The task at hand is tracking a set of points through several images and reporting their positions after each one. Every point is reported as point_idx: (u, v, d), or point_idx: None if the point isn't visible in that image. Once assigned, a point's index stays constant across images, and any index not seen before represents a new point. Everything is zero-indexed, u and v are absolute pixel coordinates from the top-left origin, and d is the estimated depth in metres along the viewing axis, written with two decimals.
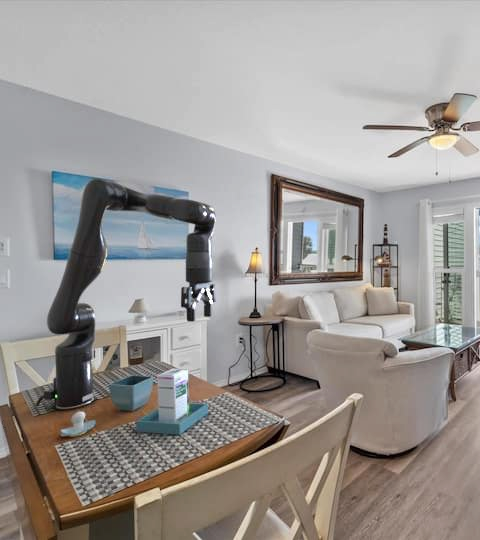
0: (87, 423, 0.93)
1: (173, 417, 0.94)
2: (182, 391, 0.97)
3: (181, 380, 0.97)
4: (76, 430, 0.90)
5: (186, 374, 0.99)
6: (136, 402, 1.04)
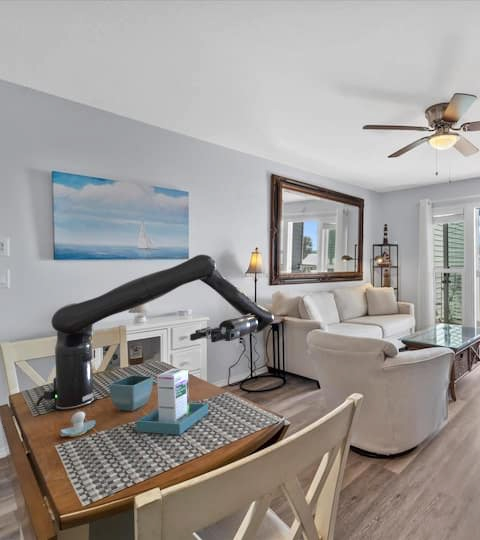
0: (87, 423, 0.93)
1: (173, 417, 0.94)
2: (182, 391, 0.97)
3: (181, 380, 0.97)
4: (76, 430, 0.90)
5: (186, 374, 0.99)
6: (136, 402, 1.04)
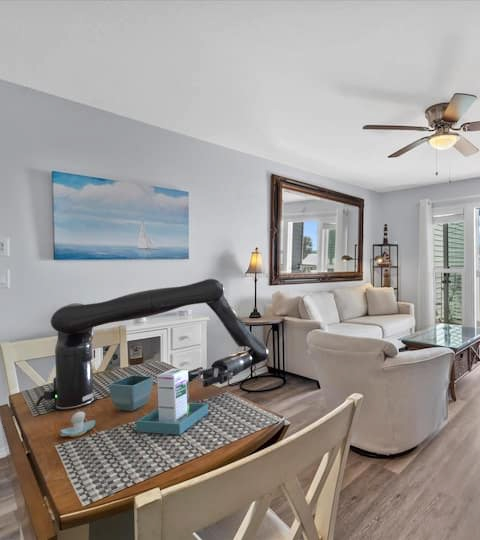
0: (87, 423, 0.93)
1: (173, 417, 0.94)
2: (182, 391, 0.97)
3: (181, 380, 0.97)
4: (76, 430, 0.90)
5: (186, 374, 0.99)
6: (136, 402, 1.04)
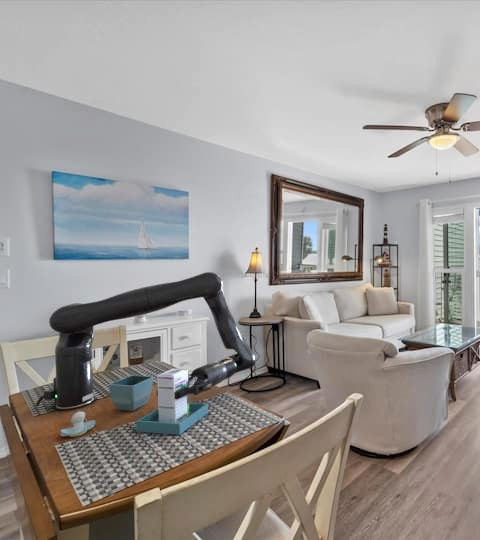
0: (87, 423, 0.93)
1: (173, 417, 0.94)
2: None
3: (181, 380, 0.97)
4: (76, 430, 0.90)
5: (186, 374, 0.99)
6: (136, 402, 1.04)
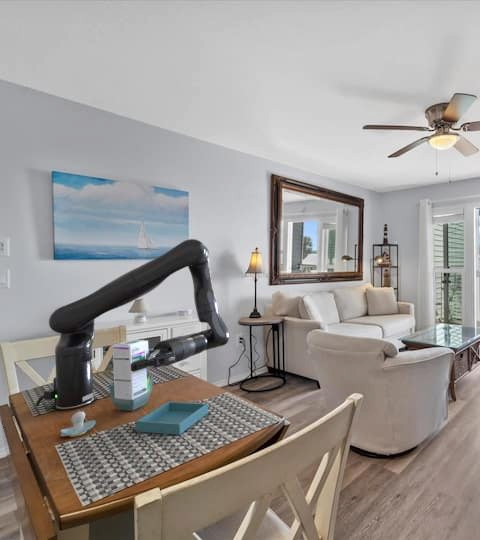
0: (87, 423, 0.93)
1: (130, 390, 0.86)
2: None
3: (139, 351, 0.89)
4: (76, 430, 0.90)
5: (146, 345, 0.91)
6: (136, 402, 1.04)
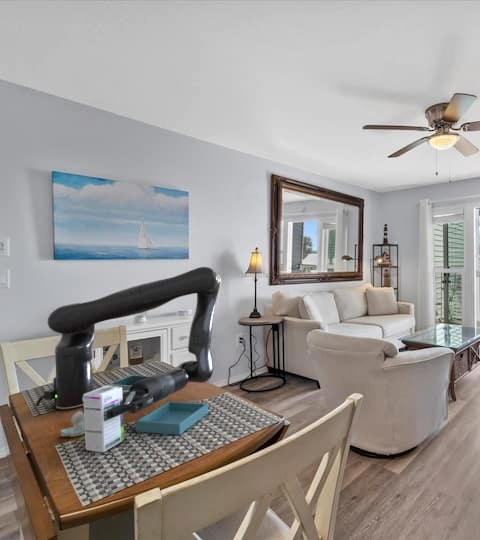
0: None
1: (101, 443, 0.82)
2: None
3: (112, 399, 0.84)
4: (76, 430, 0.90)
5: (119, 392, 0.86)
6: None
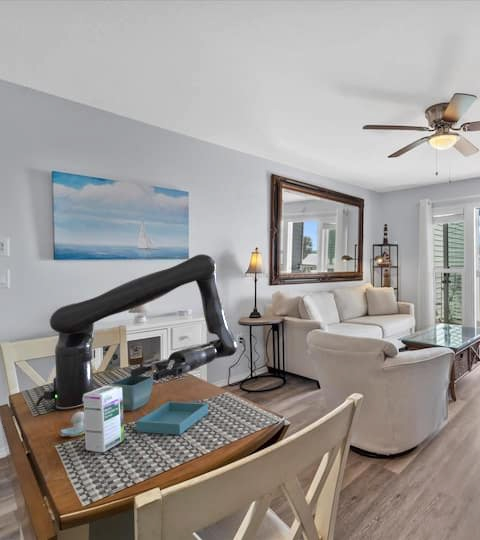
0: None
1: (101, 443, 0.82)
2: (114, 412, 0.84)
3: (112, 399, 0.84)
4: (76, 430, 0.90)
5: (119, 392, 0.86)
6: (136, 402, 1.04)
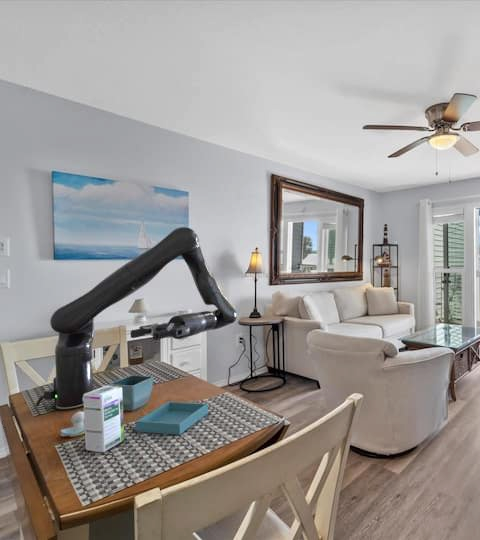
0: None
1: (101, 443, 0.82)
2: (114, 412, 0.84)
3: (112, 399, 0.84)
4: (76, 430, 0.90)
5: (119, 392, 0.86)
6: (136, 402, 1.04)
